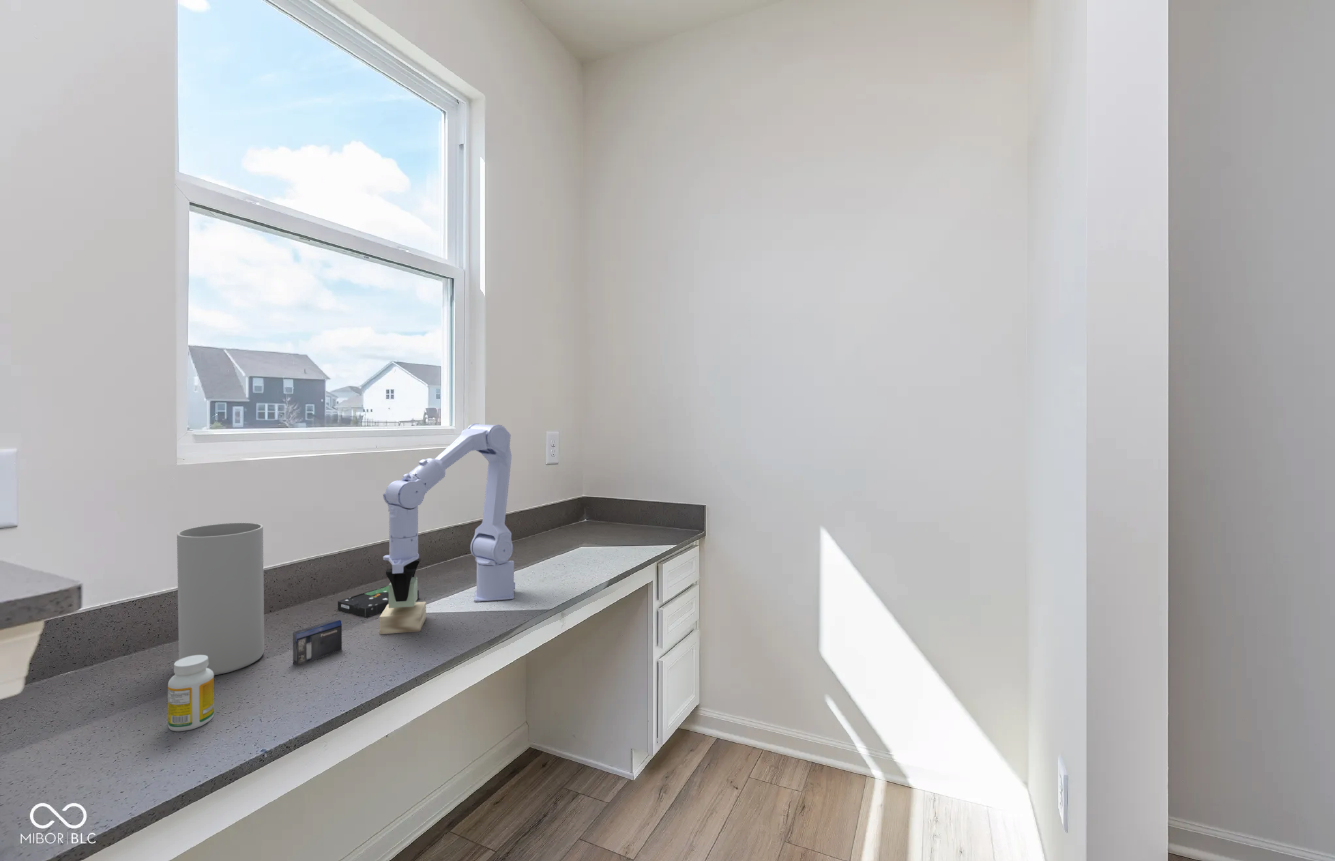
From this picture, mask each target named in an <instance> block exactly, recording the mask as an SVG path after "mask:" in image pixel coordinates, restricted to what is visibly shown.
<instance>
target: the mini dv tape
mask: <svg viewBox="0 0 1335 861" xmlns="http://www.w3.org/2000/svg"><path fill="white" fill-rule="evenodd" d="M342 626H343V625H342V620H341V619H338V618H335V619H332V620H329V621H326V622H322V623H318V624H315V625H312V626H309V627H306V628H302V629H299V630H296V631H293V632H292V663H293V665H295V666H300V665H302V664H305V663H309V662H312V661H315V660H318V659H319V658H322V657H326V656H328V655H331V654H334V653H337V652H339V651H342V650H343V647H342V646H343V640H342V639H343V636H342V635H343V634H342V633H343V632H342V631H343V630H342Z"/></svg>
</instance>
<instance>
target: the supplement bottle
mask: <svg viewBox="0 0 1335 861" xmlns="http://www.w3.org/2000/svg"><path fill="white" fill-rule="evenodd" d="M208 664H209V663H208V656H206V655H194V656H189V657H185V658H182V659H180V660H179V659H177V660H176V661H175V662H174V664H173V674H174V675H173V676H172V677H170V678H169V680H168V683H167V726H168V729H169V730H171V731H172V732H187V731H190V730H194V729H197V728H200V727H201V726H204V725H206V724H207V723H209V722H210V721H212V720H213V718H214V715H215V694H214V693H215V687H214V686H215V675H214V673H213V671H212V670H211V669H209V668H207V666H208Z"/></svg>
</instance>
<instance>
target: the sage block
mask: <svg viewBox="0 0 1335 861" xmlns="http://www.w3.org/2000/svg"><path fill="white" fill-rule="evenodd" d="M389 582H390V581H389ZM388 586H389V608H398V607H412V606H414V605H415V603H416V602H418V600H417V590H418V576H414V577H412V578H411V582H410V587H409V593H408V598H407V600H406V601H400V602H396V600H395V596H394V592H393V588H392V585H391V582H390V583H389V584H388Z"/></svg>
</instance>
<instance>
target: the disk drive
mask: <svg viewBox="0 0 1335 861" xmlns="http://www.w3.org/2000/svg"><path fill="white" fill-rule="evenodd" d="M419 599H420V590H418V589H417V601H418V600H419ZM388 604H389V585H387V586H382V587H379V588H376V589H372V590H369V591H366V592H363V593H359V594H356V595H353V596H350V597H346V598H343V599H340V600H337V611H340V612H344V613H347V614H351V615H355V616H358V617H362V618H368V617H371V616H375V615H377V614H379V613H382V612H383V611H384V609H385V608H386V606H387V605H388Z"/></svg>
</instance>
